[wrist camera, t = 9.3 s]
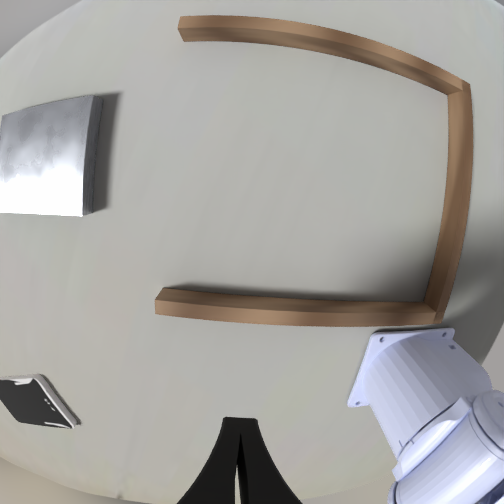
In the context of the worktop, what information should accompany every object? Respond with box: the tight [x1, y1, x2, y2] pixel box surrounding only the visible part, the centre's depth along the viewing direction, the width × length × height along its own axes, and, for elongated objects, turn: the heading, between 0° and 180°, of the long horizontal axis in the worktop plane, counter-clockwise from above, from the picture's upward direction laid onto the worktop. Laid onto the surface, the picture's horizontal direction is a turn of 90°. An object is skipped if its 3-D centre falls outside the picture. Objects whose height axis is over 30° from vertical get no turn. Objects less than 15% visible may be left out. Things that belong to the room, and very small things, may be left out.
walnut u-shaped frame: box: [155, 15, 473, 327], centre depth 16 cm, size 21×19×2 cm
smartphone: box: [0, 374, 77, 429], centre depth 22 cm, size 8×1×15 cm
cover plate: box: [0, 95, 103, 216], centre depth 15 cm, size 10×8×2 cm
